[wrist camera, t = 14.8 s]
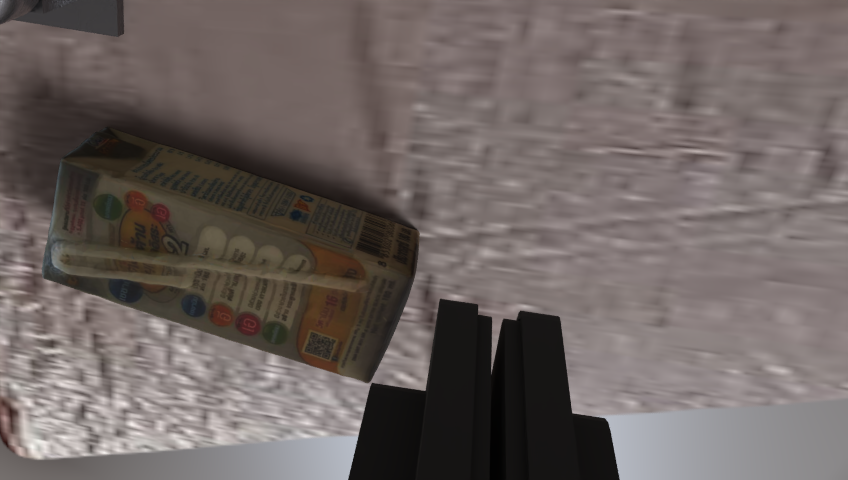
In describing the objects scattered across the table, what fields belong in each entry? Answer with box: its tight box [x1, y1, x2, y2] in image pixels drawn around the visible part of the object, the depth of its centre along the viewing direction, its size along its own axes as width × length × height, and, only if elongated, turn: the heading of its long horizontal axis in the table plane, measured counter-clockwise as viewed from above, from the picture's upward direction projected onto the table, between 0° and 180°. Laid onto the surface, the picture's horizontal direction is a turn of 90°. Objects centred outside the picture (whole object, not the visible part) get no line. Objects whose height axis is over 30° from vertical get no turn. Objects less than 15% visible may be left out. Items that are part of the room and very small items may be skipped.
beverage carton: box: [42, 127, 420, 383], centre depth 43 cm, size 8×19×7 cm, turn 70°
